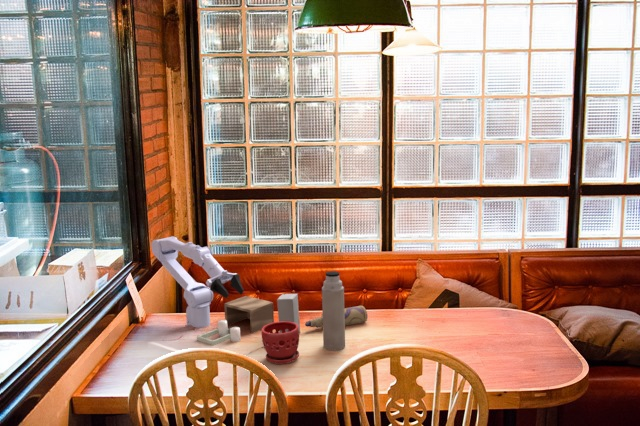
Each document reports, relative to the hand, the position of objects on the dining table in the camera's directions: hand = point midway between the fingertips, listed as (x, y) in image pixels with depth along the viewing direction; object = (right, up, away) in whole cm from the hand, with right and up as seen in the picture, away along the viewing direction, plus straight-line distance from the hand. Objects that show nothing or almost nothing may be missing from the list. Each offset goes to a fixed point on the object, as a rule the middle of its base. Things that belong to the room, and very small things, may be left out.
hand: (234, 294), depth 247 cm
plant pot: (+18, -21, -17) cm, 33 cm away
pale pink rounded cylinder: (-5, -16, +5) cm, 18 cm away
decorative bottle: (+39, -15, +15) cm, 44 cm away
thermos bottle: (+37, -18, -7) cm, 42 cm away
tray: (-7, -18, +3) cm, 20 cm away
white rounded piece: (0, -18, 0) cm, 18 cm away
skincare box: (+20, -17, +6) cm, 27 cm away
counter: (+4, -15, +16) cm, 23 cm away
